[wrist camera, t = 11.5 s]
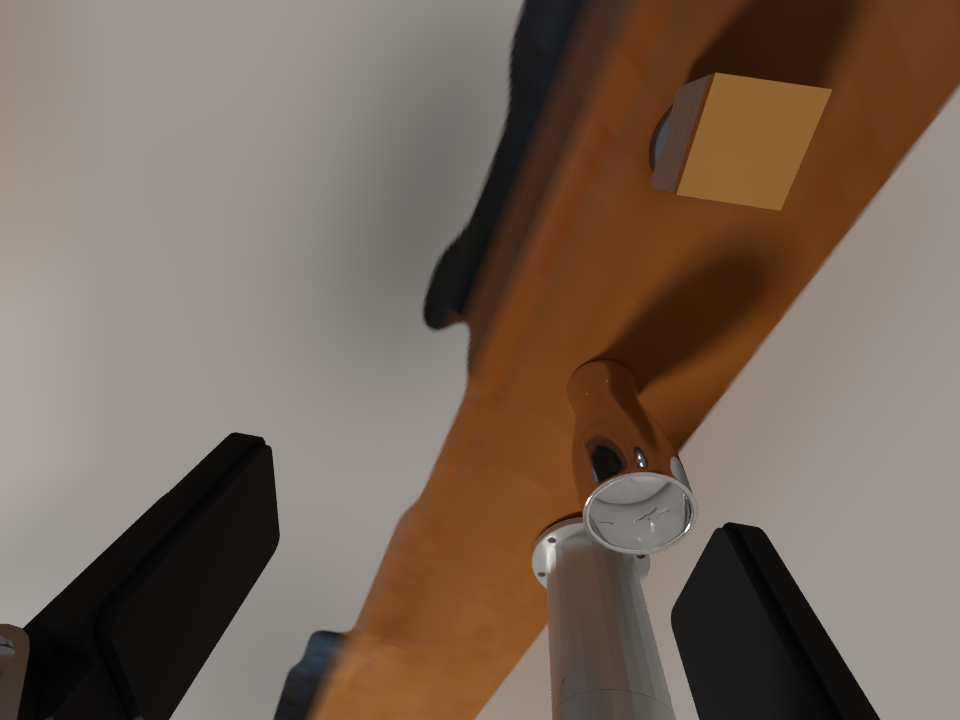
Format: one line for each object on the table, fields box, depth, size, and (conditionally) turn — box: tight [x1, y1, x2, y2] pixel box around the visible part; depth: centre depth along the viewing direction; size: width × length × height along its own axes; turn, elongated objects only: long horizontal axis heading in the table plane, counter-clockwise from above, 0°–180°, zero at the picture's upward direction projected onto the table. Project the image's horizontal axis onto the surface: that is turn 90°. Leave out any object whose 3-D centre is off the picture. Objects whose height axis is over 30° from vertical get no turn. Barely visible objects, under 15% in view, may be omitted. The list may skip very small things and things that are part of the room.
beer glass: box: [567, 360, 698, 555], centre depth 32 cm, size 7×7×15 cm
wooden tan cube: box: [650, 73, 832, 211], centre depth 26 cm, size 6×6×6 cm
